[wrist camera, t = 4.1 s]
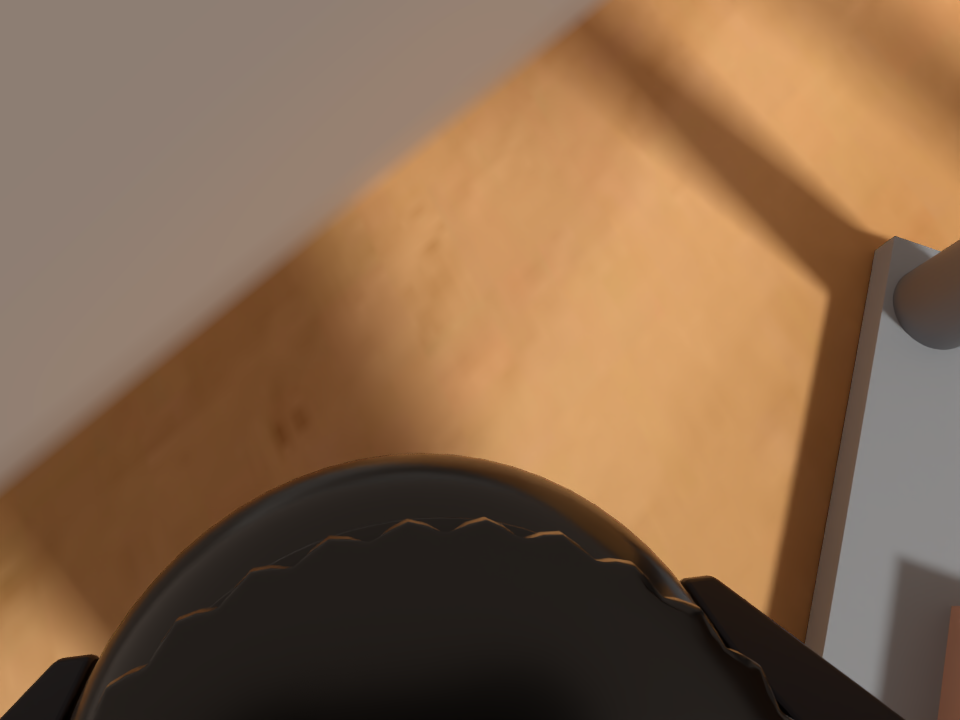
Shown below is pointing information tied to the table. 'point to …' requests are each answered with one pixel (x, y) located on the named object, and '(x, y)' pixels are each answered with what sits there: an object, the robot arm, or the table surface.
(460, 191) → the table surface
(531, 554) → the supplement bottle
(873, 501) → the dock
